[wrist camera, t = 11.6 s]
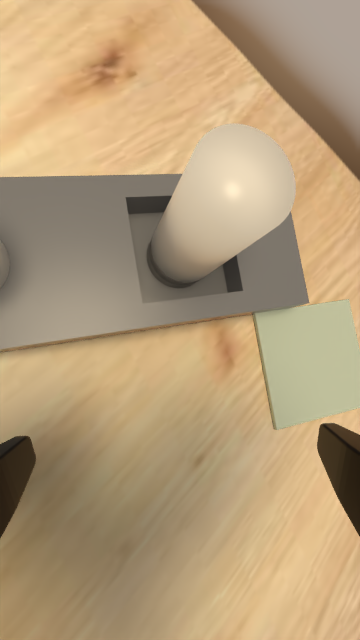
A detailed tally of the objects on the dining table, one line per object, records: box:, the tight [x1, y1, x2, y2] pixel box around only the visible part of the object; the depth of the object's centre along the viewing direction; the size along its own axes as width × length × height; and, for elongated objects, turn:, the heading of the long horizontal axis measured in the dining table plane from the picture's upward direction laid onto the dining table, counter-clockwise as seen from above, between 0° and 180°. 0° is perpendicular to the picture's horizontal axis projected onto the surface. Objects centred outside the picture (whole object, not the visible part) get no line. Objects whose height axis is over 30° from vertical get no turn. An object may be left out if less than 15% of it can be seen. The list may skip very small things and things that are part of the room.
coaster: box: [253, 299, 360, 430], centre depth 25 cm, size 9×9×1 cm
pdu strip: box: [0, 174, 309, 352], centre depth 19 cm, size 10×24×8 cm, turn 100°
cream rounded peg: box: [147, 124, 296, 288], centre depth 18 cm, size 5×5×11 cm
